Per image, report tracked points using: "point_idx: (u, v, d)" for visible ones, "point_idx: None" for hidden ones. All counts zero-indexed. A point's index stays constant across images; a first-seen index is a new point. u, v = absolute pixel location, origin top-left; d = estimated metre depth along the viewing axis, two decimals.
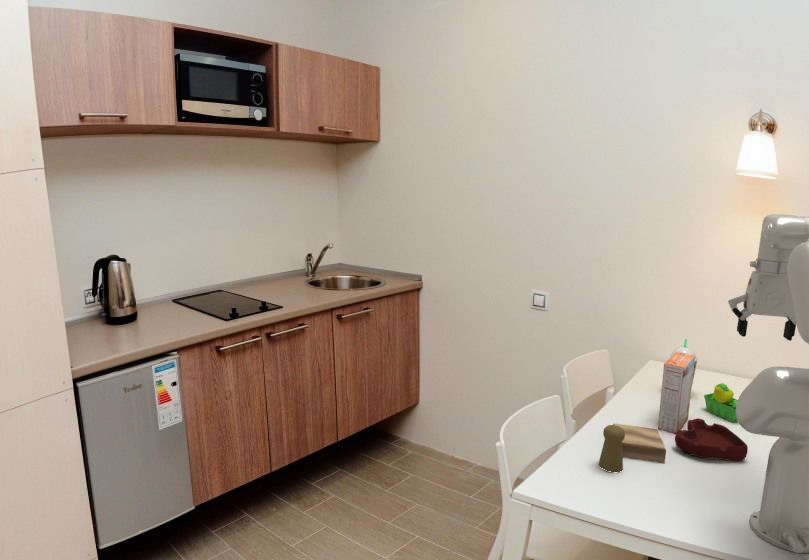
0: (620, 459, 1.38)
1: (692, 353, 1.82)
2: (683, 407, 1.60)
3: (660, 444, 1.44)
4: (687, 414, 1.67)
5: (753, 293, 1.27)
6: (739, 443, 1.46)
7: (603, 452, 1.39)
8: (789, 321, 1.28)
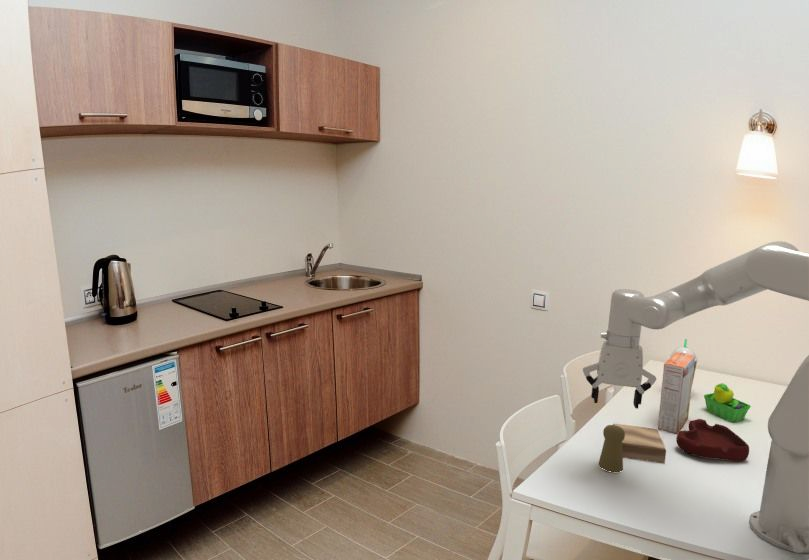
0: (620, 459, 1.38)
1: (692, 353, 1.82)
2: (683, 407, 1.60)
3: (660, 444, 1.44)
4: (687, 414, 1.67)
5: (602, 364, 1.34)
6: (741, 444, 1.46)
7: (603, 452, 1.39)
8: (637, 390, 1.35)
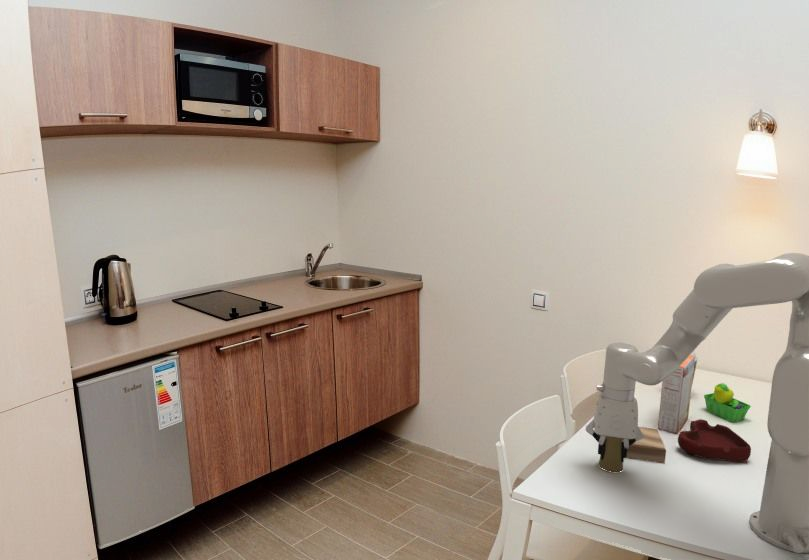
0: (620, 459, 1.38)
1: (692, 353, 1.82)
2: (683, 407, 1.60)
3: (660, 444, 1.44)
4: (687, 414, 1.67)
5: (598, 416, 1.36)
6: (742, 444, 1.46)
7: None
8: (622, 444, 1.38)
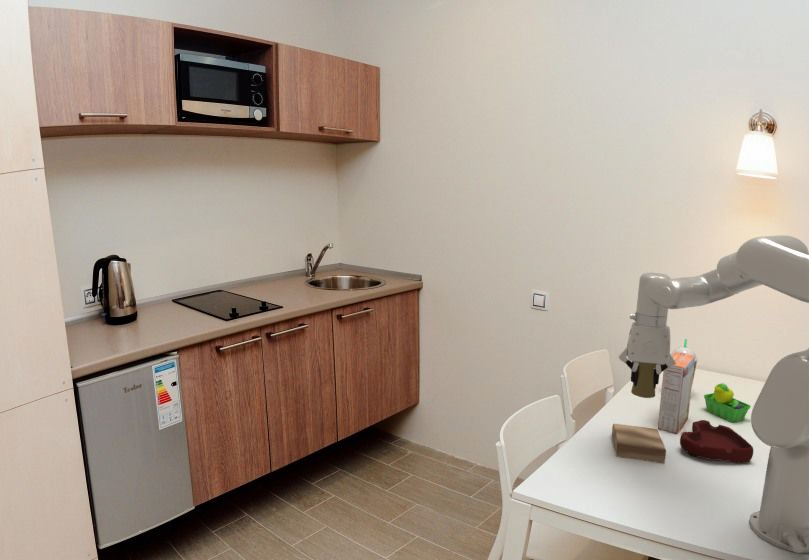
0: (653, 385, 1.44)
1: (692, 353, 1.82)
2: (683, 407, 1.60)
3: (660, 444, 1.44)
4: (687, 414, 1.67)
5: (631, 343, 1.42)
6: (745, 445, 1.45)
7: None
8: (654, 371, 1.45)
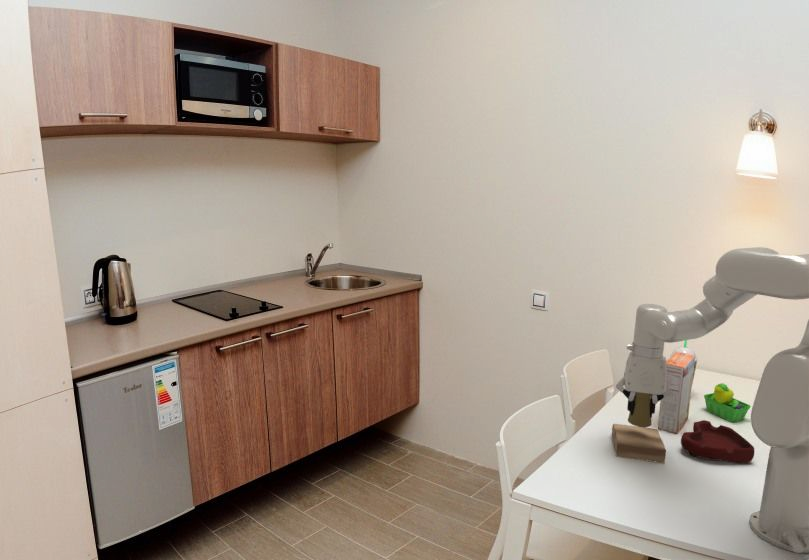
0: (649, 414, 1.46)
1: (692, 353, 1.82)
2: (683, 407, 1.60)
3: (660, 444, 1.44)
4: (687, 414, 1.67)
5: (628, 373, 1.44)
6: (746, 445, 1.45)
7: None
8: None
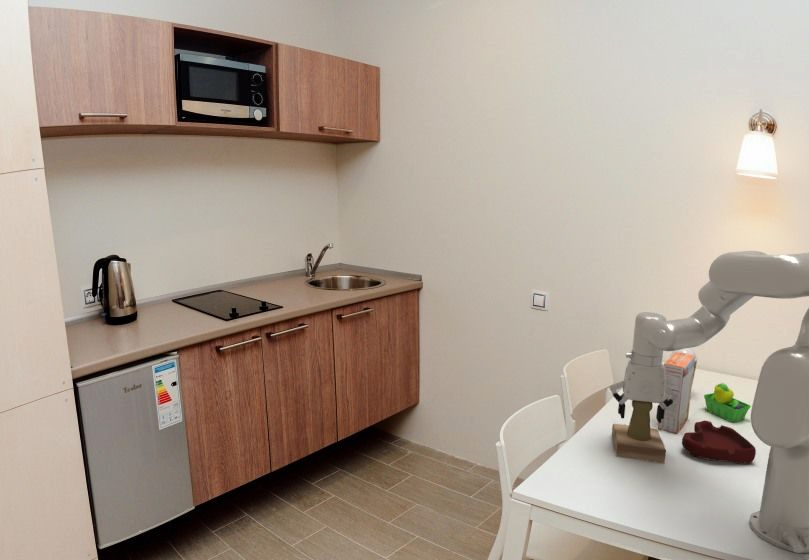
0: (648, 428, 1.46)
1: (692, 353, 1.82)
2: (683, 407, 1.60)
3: (660, 444, 1.44)
4: (687, 414, 1.67)
5: (627, 381, 1.45)
6: (747, 446, 1.45)
7: (632, 422, 1.48)
8: (659, 406, 1.46)
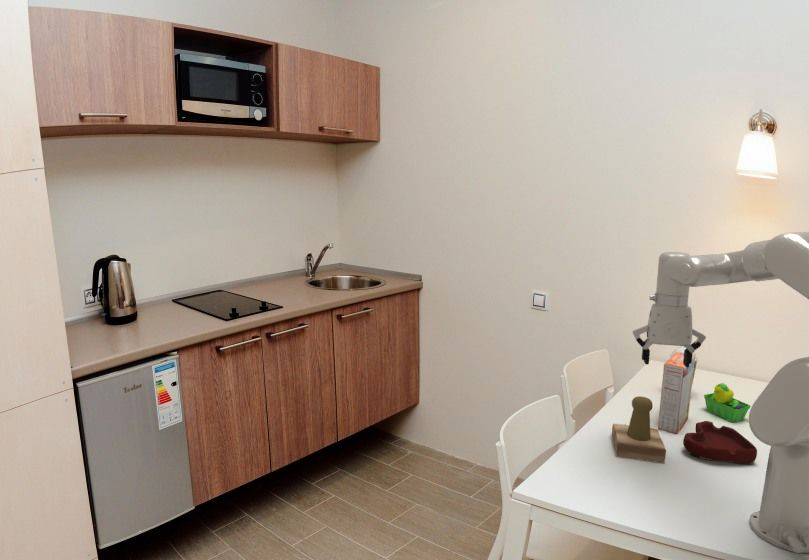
0: (648, 428, 1.46)
1: None
2: (683, 407, 1.60)
3: (660, 444, 1.44)
4: (687, 414, 1.67)
5: (652, 324, 1.38)
6: (748, 446, 1.45)
7: (632, 422, 1.48)
8: (686, 349, 1.40)
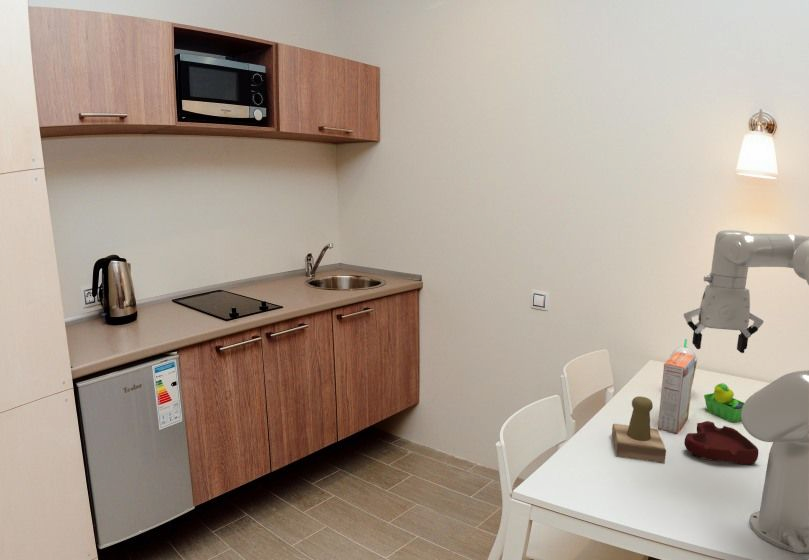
0: (648, 428, 1.46)
1: (692, 353, 1.82)
2: (683, 407, 1.60)
3: (660, 444, 1.44)
4: (687, 414, 1.67)
5: (706, 307, 1.31)
6: (750, 447, 1.45)
7: (632, 422, 1.48)
8: (742, 334, 1.32)
